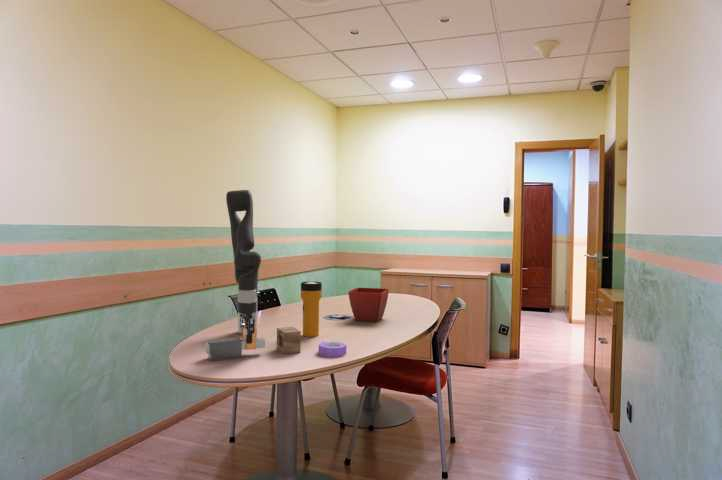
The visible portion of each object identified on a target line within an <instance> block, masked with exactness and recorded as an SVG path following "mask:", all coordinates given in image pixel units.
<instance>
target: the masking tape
mask: <svg viewBox="0 0 722 480" xmlns="http://www.w3.org/2000/svg"><path fill="white" fill-rule="evenodd" d="M347 346H348V345H347V343H345V342H341V341H333V340H331V341H323V342H319V344H318V355H320V356H323V357H330V358H332V357H334V358H335V357H336V358H337V357H343V356H345V355H346V354H347Z"/></svg>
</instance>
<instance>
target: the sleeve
mask: <svg viewBox="0 0 722 480" xmlns="http://www.w3.org/2000/svg"><path fill="white" fill-rule="evenodd" d="M207 343H210V344H211V353H210V354H207V355H208V357H207V358H208V359H209V360H210V362H214V361H222V360H233V359H242V357H243V355H242V354H243V350H242V338H240V337H239V336H238V337H230V338H229V337H228V338H217V339H209V340H207Z"/></svg>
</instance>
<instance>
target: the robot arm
mask: <svg viewBox="0 0 722 480" xmlns="http://www.w3.org/2000/svg"><path fill="white" fill-rule="evenodd" d="M225 198H226V202H225V203H226V208H227V211H228V212H227V213H228V218H229V223H230V224H229V225H230V234H231V235H230V236H231V245H232V252H233V259H234V260H233V264H234V279H235V281H236V283H237V284H238V292H237V333H238V335H239V334H240V335H241V340H243V327H244V328H245V329H246V343H247V344H251V343H252V334H253V333H254V328H255V329H257V330H258V282H259V270H260V266H261V263H262V257H261V254H260V252H258V251H251V250H253V249H254V247H255V237H254V225H253V224H254V201H253V195H252V192H251V191H250V190H249V189H239V190H230V191H227V193H226V197H225ZM238 212H245V214H244V216H243V218H242V219H240V217H239V215H238ZM250 329H251V331H250Z"/></svg>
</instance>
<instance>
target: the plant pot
mask: <svg viewBox="0 0 722 480" xmlns="http://www.w3.org/2000/svg"><path fill="white" fill-rule="evenodd" d="M389 291H390V289H389V288H378V287H377V288H375V287H356V288H353V289H351V290H349V291H348V298H349V303H350V308H351V312H352V315H353V318H354V320H355V321H356V322H357V321H358V322H369V323H370V322H372V323H377V322H379V321H380V320H382V319H383V316H384V315H385V311H386V308H387V303H388V297H389Z"/></svg>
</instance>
